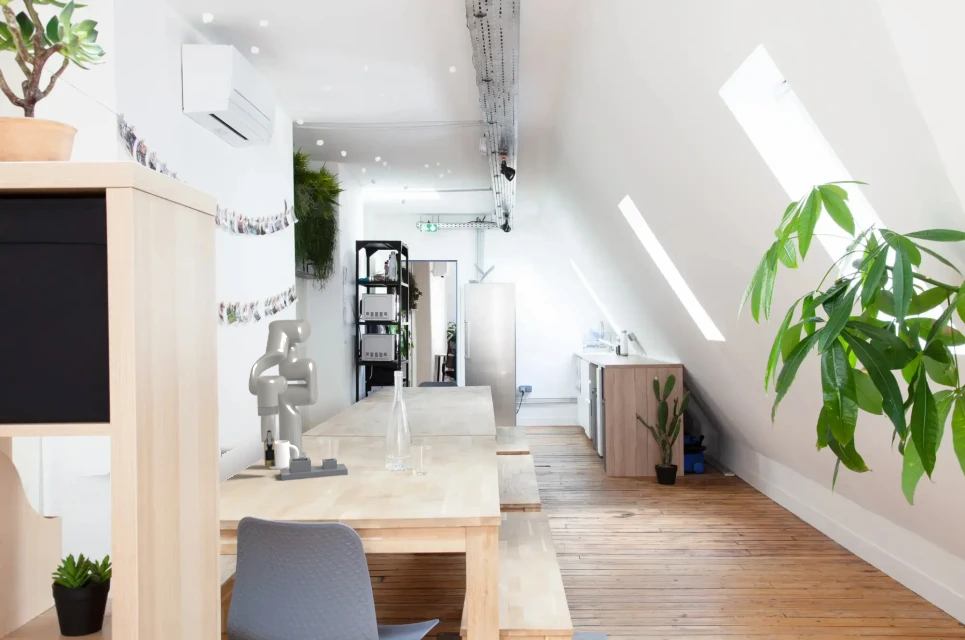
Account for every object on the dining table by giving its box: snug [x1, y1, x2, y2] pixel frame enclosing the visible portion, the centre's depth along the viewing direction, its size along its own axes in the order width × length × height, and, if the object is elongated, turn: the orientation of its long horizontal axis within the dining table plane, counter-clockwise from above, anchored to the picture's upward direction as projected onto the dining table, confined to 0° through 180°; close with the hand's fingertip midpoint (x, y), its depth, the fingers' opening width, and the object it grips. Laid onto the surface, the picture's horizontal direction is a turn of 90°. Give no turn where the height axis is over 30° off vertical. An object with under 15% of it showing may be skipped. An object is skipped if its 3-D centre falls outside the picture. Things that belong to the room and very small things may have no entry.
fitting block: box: [279, 456, 349, 481], centre depth 276 cm, size 12×24×6 cm, turn 108°
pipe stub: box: [263, 434, 276, 468], centre depth 275 cm, size 4×4×12 cm
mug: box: [268, 440, 299, 470], centre depth 292 cm, size 12×8×10 cm
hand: (269, 458), depth 275 cm, fingers closed on pipe stub, 4 cm apart
